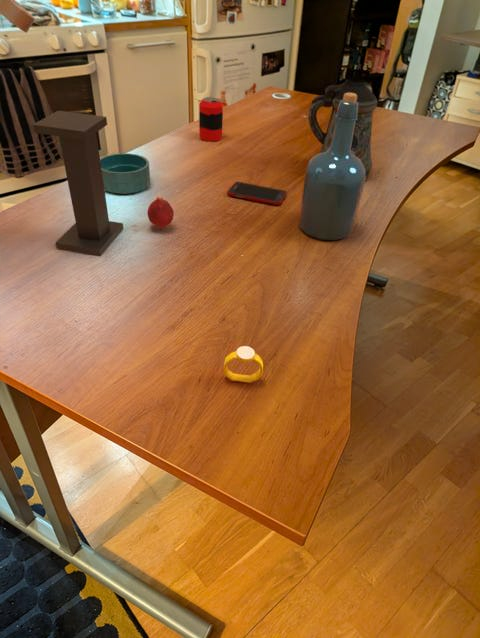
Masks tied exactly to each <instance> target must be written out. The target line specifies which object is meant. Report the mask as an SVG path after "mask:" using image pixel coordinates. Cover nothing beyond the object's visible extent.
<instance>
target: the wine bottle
mask: <svg viewBox="0 0 480 638" xmlns="http://www.w3.org/2000/svg"><path fill="white" fill-rule="evenodd" d="M356 100H357V95H356V94H355V93H345V94H344V97H343V99H342V100H341V101H340V103H339V107H338V110H337V113H336V114H337V115H336V116H335V117H336V122H335V127H334V131H333V136H332V140H331V145H330V148H328V149H327V151H322V152H320V151H319V152H320V153H319V152H318V153H317V154H316V155H314V156H313V157H311V158H310V159H309V161H308V162H307V164H306V167H305V172H304V173H305V174H304V179H303V187H302V193H301V199H300V205H299V206H300V207H299V212H298V226H299V228H300V230H301V231H302V232H304V233H305V234H306V235H307V236H310V237H312V238H315V239H319V240H322V241H323V240H324V241H338V240H341V239H346V238H347V237H348V236H349V235H350V234H352V232H353V231H354V228H355V225H356V220H357V217H358V212H359V207H360V205H361V200H362V196H363V192H364V188H365V187H364V186H365V183H366V180H367V178H366V171H365V168H364V166H363V163H362V161H361V160H360V159H359V158H358V157H356V156H355V153H354V152H353V151H352V150H351V145H352V139H353V133H354V127H355V122H356V120H357V114H358V104H359V103H358V102H357V101H356ZM365 179H366V180H365Z"/></svg>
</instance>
